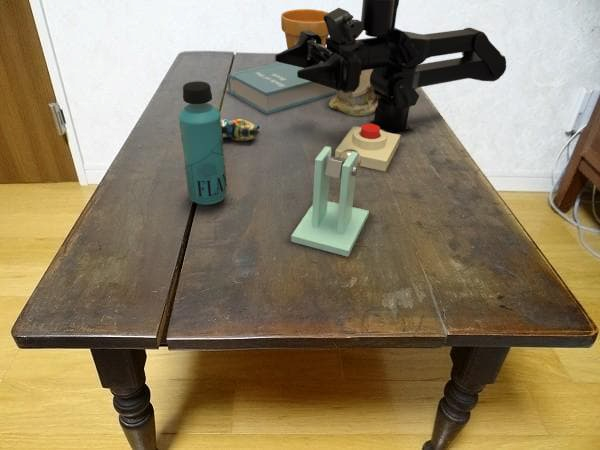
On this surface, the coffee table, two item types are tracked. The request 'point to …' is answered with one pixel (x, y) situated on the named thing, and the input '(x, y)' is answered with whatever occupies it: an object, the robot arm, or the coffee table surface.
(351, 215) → the bracket
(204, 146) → the beverage bottle
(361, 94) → the ceramic model
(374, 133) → the button
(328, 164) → the lever
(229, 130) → the figurine
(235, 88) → the book
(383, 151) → the button block
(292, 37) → the flower pot
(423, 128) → the coffee table surface
